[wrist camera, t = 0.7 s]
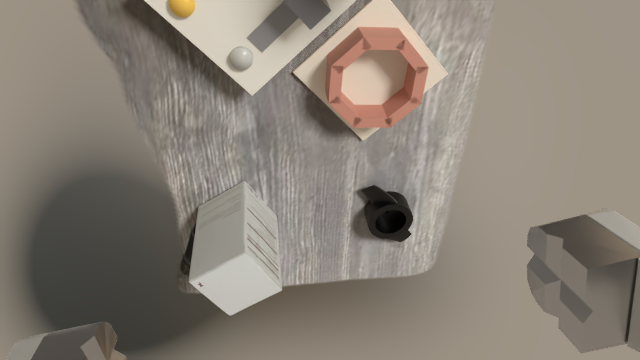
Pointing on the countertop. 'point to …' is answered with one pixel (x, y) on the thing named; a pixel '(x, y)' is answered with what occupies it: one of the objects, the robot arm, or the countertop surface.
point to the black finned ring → (387, 214)
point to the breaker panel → (245, 33)
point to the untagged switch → (309, 10)
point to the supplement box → (236, 250)
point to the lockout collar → (372, 69)
